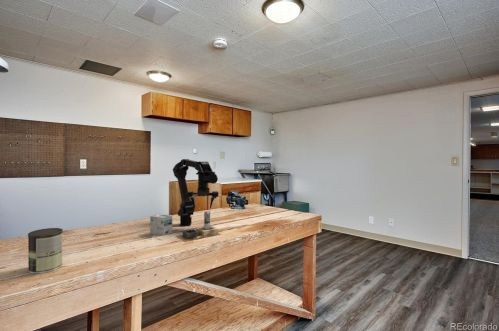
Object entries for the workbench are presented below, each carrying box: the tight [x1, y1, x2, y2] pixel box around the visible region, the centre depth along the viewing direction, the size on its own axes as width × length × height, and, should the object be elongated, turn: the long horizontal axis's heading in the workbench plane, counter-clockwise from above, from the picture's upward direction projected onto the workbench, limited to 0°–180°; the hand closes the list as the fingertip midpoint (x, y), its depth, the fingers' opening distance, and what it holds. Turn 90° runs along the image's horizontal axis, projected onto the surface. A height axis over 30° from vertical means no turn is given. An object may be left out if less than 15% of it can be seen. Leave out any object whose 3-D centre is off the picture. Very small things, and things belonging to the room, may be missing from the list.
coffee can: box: [27, 227, 64, 275], centre depth 97 cm, size 10×10×14 cm
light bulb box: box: [149, 213, 173, 236], centre depth 142 cm, size 11×7×11 cm, turn 65°
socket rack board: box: [174, 225, 223, 243], centre depth 138 cm, size 22×12×4 cm, turn 130°
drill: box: [203, 211, 211, 230], centre depth 141 cm, size 3×3×12 cm
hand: (202, 208), depth 152 cm, fingers open, 9 cm apart
